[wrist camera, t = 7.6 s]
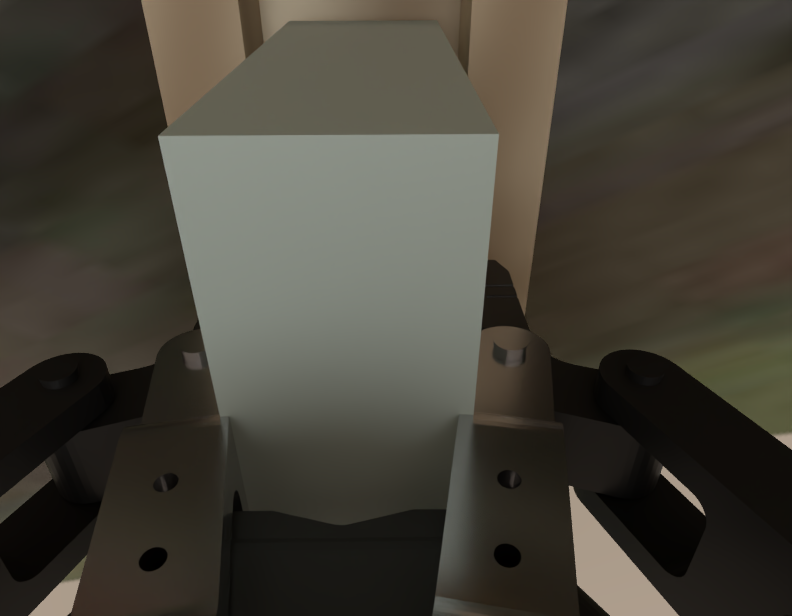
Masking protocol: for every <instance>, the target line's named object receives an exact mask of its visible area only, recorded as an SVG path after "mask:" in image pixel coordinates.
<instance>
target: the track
mask: <svg viewBox="0 0 792 616" xmlns="http://www.w3.org/2000/svg"><path fill="white" fill-rule="evenodd" d="M141 1H142V6H143V11H144V15H145V20H146V25H147V30H148V34H149V39H150V44H151V49H152V53H153V58H154V63H155V68H156V73H157V77H158V82H159V87H160V92H161V96H162V101H163V106H164V111H165V115H166V120H167V125H168V127H169V126H170V125H171V124H172V123H173V122H174V121H176V120H177V119H178V118H179V117H180V116H181V115H182V114H184V113H185V112H186V111H187V110H188V109H189V108H190V107H192V106H193V105H194V104H195V103H196V102H197V101H198V100H200V99H201V98H202V97H203V96H204V95H205V94H206V93H208V92H209V91H210V90H211V89H212V88H213V87H214V86H216V85H217V84H218V83H219V82H220V81H221V80H222V79H224V78H225V77H226V76H227V75H228V74H229V73H230V72H232V71H233V70H234V69H235V68H236V67H237V66H238V65H239V64H241V63H242V62H243V61H244V60H245V59H246V58H247V57H249V56H250V55H251V54H252V53H253V52H254V51H255V50H257V49H258V48H259V47H260V46H261V45H262V44H263V43H265V42H266V41H267V40H268V39H269V38H270V37H271V36H273V35H274V34H275V33H276V32H277V31H278V30H279V29H281V28H282V27H283V26H284V25H285V24H286V23H287V22H289V21H398V20H437V21H438V23H439V25H440V27H441V28H442V30H443V32H444V34H445V36H446V38H447V39H448V41H449V43H450V45H451V47H452V49H453V50H454V52H455V54H456V56H457V58H458V60H459V61H460V63H461V65H462V67H463V69H464V71H465V72H466V74H467V76H468V78H469V80H470V82H471V83H472V85H473V87H474V89H475V91H476V93H477V94H478V96H479V98H480V100H481V102H482V104H483V106H484V107H485V109H486V111H487V113H488V115H489V117H490V118H491V120H492V122H493V124H494V126H495V128H496V129H497V131H498V133H499V139H498V150H497V161H496V173H495V184H494V195H493V206H492V217H491V228H490V239H489V250H488V260H496V261H497V262H498V263H500V264H501V265H502V266H503V267H504V268H506V269H507V270H508V271H509V273H510V276H511V279H512V282H513V287H514V288H515V290H516V293H517V298H518V299H519V302H520V305H521V308H522V310H523V313H524V316H525V310H526V303H527V295H528V288H529V281H530V273H531V266H532V259H533V251H534V244H535V237H536V229H537V222H538V215H539V207H540V200H541V192H542V185H543V178H544V170H545V163H546V156H547V148H548V141H549V134H550V126H551V119H552V112H553V104H554V97H555V90H556V82H557V75H558V68H559V60H560V53H561V46H562V38H563V31H564V24H565V16H566V9H567V2H568V0H141Z"/></svg>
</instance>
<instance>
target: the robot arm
mask: <svg viewBox="0 0 792 616" xmlns="http://www.w3.org/2000/svg"><path fill="white" fill-rule="evenodd" d="M43 461H45V463H46V465H47V467H48V469H49V471H50V473H51V476H52V478H53V479H52V480H51V481H49V482H48V483H47V484H46V485H45V486H44V487H42V488H41V489H40V490H39V491H38V492H37V493H35V494H34V495H33V496H32V497H31V498H30V499H29V500H27V501H26V502H25V503H24V504H23V505H22V506H20V507H19V508H18V509H17V510H16V511H15V512H14V513H12V514H11V515H10V516H9V517H8V518H7V519H5V520H4V521H3V522H2V523H1V524H0V616H28V615H29V614H30V613H31V612H32V611H33V610H34V609H35V608H36V607H37V606H38V605H39V604H40V603H41V602H42V601H43V600H44V599H45V598H46V597H47V596H48V595H49V594H50V592H51V591H52V590H53V589H54V588H55V587H56V586H57V585H58V584H59V583H60V582H61V581H62V580H63V579H64V578H65V577H66V576H67V575H68V574H69V573H70V572H71V571H72V570H73V569H74V568H75V566H76V565H77V564H78V563H79V562H80V561H81V560H82V559H83V558H84V557H85V556H86V555H87V557H86V561H85V565H84V568H83V572H82V575H81V579H80V583H79V587H78V590H77V594H76V597H75V601H74V605H73V608H72V612H71V613H70V614H69V615H68V616H610V615H609V614H608V613H607V612H605V611H604V610H603V609H602V608H601V607H600V606H599V605H598V604H597V603H596V602H595V601H594V600H593V599H592V598H590V597H589V596H588V595H587V594H586V593H585V592H584V591H583V590H582V589H581V588H580V587H579V586H578V585H577V579H576V568H575V556H574V544H573V532H572V520H571V508H570V497H569V486H573V487H574V491H575V493H576V495H577V497H578V498H579V500H580V501H581V502H582V503H583V505H584V506H585V507H586V508H587V509H588V510H589V512H590V513H591V514H592V515H593V516H594V517H595V518H596V520H597V521H598V522H599V523H600V524H601V526H602V527H603V528H604V529H605V530H606V531H607V532H608V534H609V535H610V536H611V537H612V538H613V539H614V541H615V542H616V543H617V544H618V545H619V546H620V548H621V549H622V550H623V551H624V552H625V553H626V554H627V556H628V557H629V558H630V559H631V560H632V562H633V563H634V564H635V565H636V566H637V567H638V568H639V570H640V571H641V572H642V573H643V574H644V575H645V577H647V579H648V580H649V581H650V582H651V584H652V585H653V586H654V587H655V588H656V589H657V590H658V592H659V593H660V594H661V595H662V596H663V597H664V599H665V600H666V601H667V602H668V603H669V604H670V606H671V607H672V608H673V609H674V610H675V611H676V612H677V614H678V615H679V616H792V450H791V449H790V448H788V447H787V446H786V445H784V444H783V443H782V442H780V441H779V440H778V439H776V438H775V437H774V436H772V435H771V434H769V433H768V432H767V431H765V430H764V429H763V428H761V427H760V426H759V425H757V424H756V423H755V422H753V421H752V420H750V419H749V418H748V417H746V416H745V415H744V414H742V413H741V412H740V411H738V410H737V409H736V408H734V407H733V406H731V405H730V404H729V403H727V402H726V401H725V400H723V399H722V398H721V397H719V396H718V395H717V394H715V393H714V392H712V391H711V390H710V389H708V388H707V387H706V386H704V385H703V384H702V383H700V382H699V381H698V380H696V379H695V378H693V377H692V376H691V375H689V374H688V373H687V372H685V371H684V370H683V369H681V368H680V367H679V366H677V365H676V364H674V363H673V362H671V361H670V360H668V359H666V358H664V357H662V356H659V355H657V354H654V353H650V352H646V351H641V350H619V351H615V352H612V353H610V354H608V355H606V356H605V357H604V358H603V359H602V360H601V362H600V366H599V370H598V369H593V368H588V367H583V366H578V365H573V364H569V363H566V362H563V361H560V360H558V359H555V358H553V357H551V355H550V349H549V347H548V345H547V343H546V342H545V341H544V340H543V339H542V338H541V337H539V336H538V335H536V334H534V333H532V332H530V330H529V327H528V325H527V322H526V319H525V316H524V313H523V310H522V308H521V305H520V302H519V299H518V298H517V293H516V290H515V288H514V287H513V282H512V279H511V276H510V273H509V271H508V270H507V269H506V268H504V267H503V266H502V265H501V264H500V263H498V262H497V261H496V260H488V261H487V272H486V283H485V294H484V305H483V316H482V327H481V338H480V349H479V360H478V371H477V382H476V393H475V404H474V415H468V414H459V419H458V426H457V434H456V441H455V449H454V457H453V464H452V472H451V480H450V487H449V495H448V502H447V509H412V510H408V511H404V512H399V513H395V514H391V515H387V516H382V517H378V518H374V519H369V520H365V521H361V522H357V523H352V524H347V525H335V524H330V523H325V522H321V521H316V520H312V519H307V518H303V517H298V516H294V515H289V514H285V513H280V512H276V511H249V508H248V503H247V498H246V493H245V488H244V484H243V479H242V474H241V469H240V465H239V460H238V455H237V450H236V445H235V441H234V436H233V431H232V426H231V422H230V417H229V416H223V417H220V414H219V410H218V405H217V401H216V396H215V392H214V387H213V383H212V378H211V374H210V369H209V365H208V360H207V356H206V351H205V347H204V342H203V338H202V333H201V329H200V324H199V319H198V321H197V323H196V325H195V327H194V329H193V331H189V332H186V333H183V334H180V335H178V336H176V337H174V338H172V339H171V340H169V341H168V342H167V343H165V344H164V345H163V346H162V347H161V349H160V350H159V352H158V354H157V358H156V362H155V364H153V365H151V366H147V367H143V368H139V369H134V370H129V371H124V372H119V373H115V374H110V375H109V372H108V369H107V366H106V363H105V361H104V360H103V359H102V358H100V357H99V356H96V355H93V354H89V353H71V354H65V355H60V356H56V357H53V358H50V359H48V360H45V361H43V362H41V363H39V364H37V365H35V366H33V367H32V368H30V369H28V370H27V371H25V372H24V373H22V374H21V375H19V376H18V377H16V378H15V379H13V380H12V381H10V382H9V383H7V384H6V385H4V386H3V387H1V388H0V497H1V496H2V495H3V494H5V493H6V492H7V491H8V490H10V489H11V488H12V487H13V486H14V485H16V484H17V483H18V482H19V481H20V480H22V479H23V478H24V477H25V476H26V475H28V474H29V473H30V472H31V471H33V470H34V469H35V468H36V467H37V466H39V465H40V464H41V463H42V462H43ZM663 466H664V467H665V468H666V469H667V470H668V471H669V472H670V473H672V474H673V475H674V476H675V477H676V478H677V479H678V480H679V481H680V482H681V483H682V484H683V485H684V486H686V487H687V488H688V489H689V490H690V491H691V492H692V493H693V494H694V495H695V496H696V498H697V499H698V500H699V502H700V503H701V505H702V507H703V509H704V512H705V515H703V513H701V512H700V511H699V510H698V509H697V508H696V507H695V506H694V505H693V504H692V503H691V502H690V501H689V500H688V499H687V498H686V497H685V496H684V495H683V494H681V492H679V491H678V490H677V489H676V488H675V487H674V486H673V485H672V484H671V483H670V482H669V481H668V480H667V479H666V478H665V477H664V476H663V475H662V474H660V473H661V469H662V467H663Z"/></svg>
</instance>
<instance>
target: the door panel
mask: <svg viewBox="0 0 792 616" xmlns="http://www.w3.org/2000/svg"><path fill="white" fill-rule="evenodd" d="M158 139H159V143H160V148H161V152H162V157H163V161H164V166H165V170H166V175H167V179H168V184H169V188H170V193H171V197H172V202H173V207H174V211H175V216H176V220H177V225H178V229H179V234H180V238H181V243H182V247H183V252H184V256H185V261H186V265H187V270H188V274H189V279H190V283H191V288H192V292H193V297H194V301H195V306H196V310H197V315H198V319H199V324H200V329H201V333H202V338H203V342H204V347H205V351H206V356H207V360H208V365H209V369H210V374H211V378H212V383H213V387H214V392H215V396H216V401H217V405H218V410H219V414H220V417H223V416H229V417H230V422H231V426H232V431H233V436H234V441H235V445H236V450H237V455H238V460H239V465H240V469H241V474H242V479H243V484H244V488H245V493H246V498H247V503H248V508H249V511H276V512H280V513H285V514H289V515H294V516H298V517H303V518H307V519H312V520H316V521H321V522H325V523H330V524H335V525H347V524H352V523H357V522H361V521H365V520H369V519H374V518H378V517H382V516H387V515H391V514H395V513H399V512H404V511H408V510H412V509H447V502H448V495H449V487H450V480H451V472H452V464H453V457H454V449H455V441H456V434H457V426H458V419H459V414H468V415H474V404H475V393H476V382H477V371H478V360H479V349H480V338H481V327H482V316H483V305H484V294H485V283H486V272H487V261H488V250H489V239H490V228H491V217H492V206H493V195H494V184H495V173H496V161H497V150H498V139H499V133H498V131H497V129H496V128H495V126H494V124H493V122H492V120H491V118H490V117H489V115H488V113H487V111H486V109H485V107H484V106H483V104H482V102H481V100H480V98H479V96H478V94H477V93H476V91H475V89H474V87H473V85H472V83H471V82H470V80H469V78H468V76H467V74H466V72H465V71H464V69H463V67H462V65H461V63H460V61H459V60H458V58H457V56H456V54H455V52H454V50H453V49H452V47H451V45H450V43H449V41H448V39H447V38H446V36H445V34H444V32H443V30H442V28H441V27H440V25H439V23H438V21H437V20H398V21H289V22H287V23H286V24H285V25H284V26H283V27H282V28H281V29H279V30H278V31H277V32H276V33H275V34H274V35H273V36H271V37H270V38H269V39H268V40H267V41H266V42H265V43H263V44H262V45H261V46H260V47H259V48H258V49H257V50H255V51H254V52H253V53H252V54H251V55H250V56H249V57H247V58H246V59H245V60H244V61H243V62H242V63H241V64H239V65H238V66H237V67H236V68H235V69H234V70H233V71H232V72H230V73H229V74H228V75H227V76H226V77H225V78H224V79H222V80H221V81H220V82H219V83H218V84H217V85H216V86H214V87H213V88H212V89H211V90H210V91H209V92H208V93H206V94H205V95H204V96H203V97H202V98H201V99H200V100H198V101H197V102H196V103H195V104H194V105H193V106H192V107H190V108H189V109H188V110H187V111H186V112H185V113H184V114H182V115H181V116H180V117H179V118H178V119H177V120H176V121H174V122H173V123H172V124H171V125H170V126H169V127H168V128H166V129H165V130H164V131H163V132H162V133H161V134H160V135H158Z"/></svg>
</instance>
